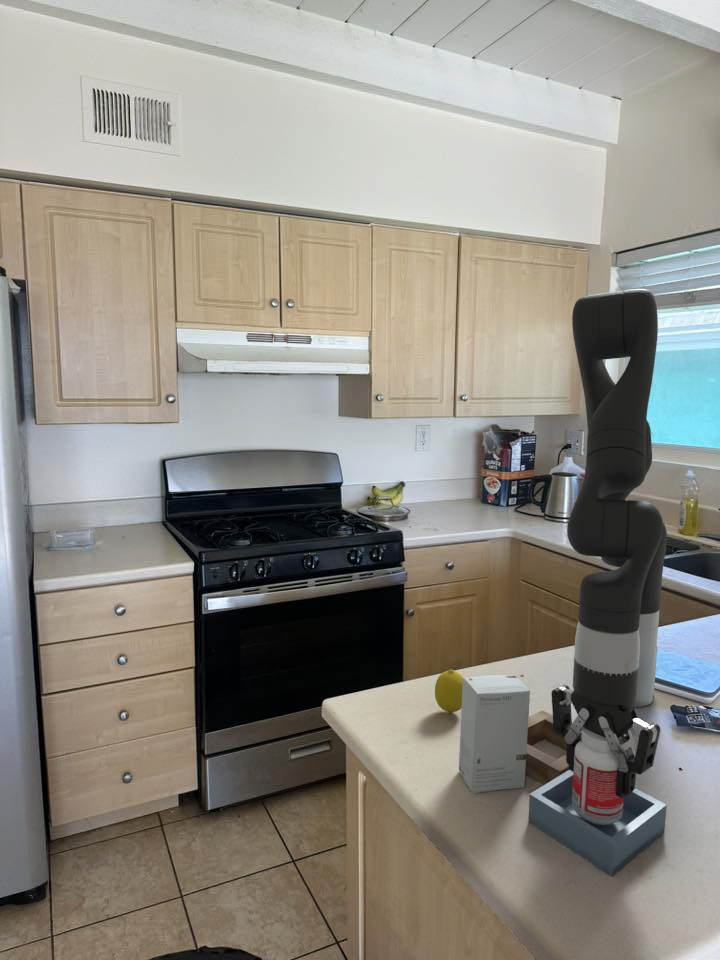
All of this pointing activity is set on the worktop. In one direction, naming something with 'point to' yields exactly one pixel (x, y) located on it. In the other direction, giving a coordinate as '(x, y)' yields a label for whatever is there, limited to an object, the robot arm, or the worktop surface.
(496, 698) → the skincare box
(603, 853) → the tray
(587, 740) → the pill bottle
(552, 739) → the collar block
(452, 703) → the lemon
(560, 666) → the worktop surface
